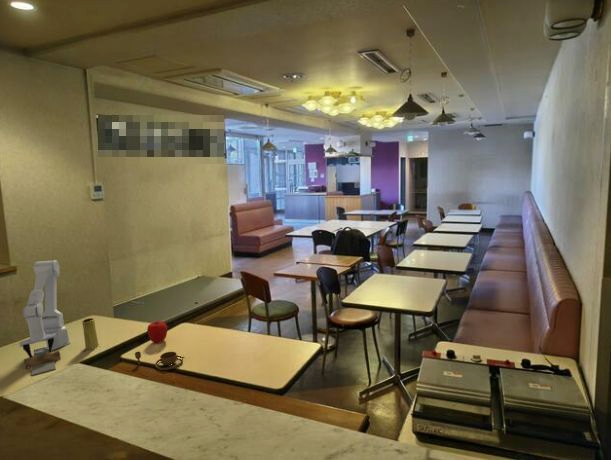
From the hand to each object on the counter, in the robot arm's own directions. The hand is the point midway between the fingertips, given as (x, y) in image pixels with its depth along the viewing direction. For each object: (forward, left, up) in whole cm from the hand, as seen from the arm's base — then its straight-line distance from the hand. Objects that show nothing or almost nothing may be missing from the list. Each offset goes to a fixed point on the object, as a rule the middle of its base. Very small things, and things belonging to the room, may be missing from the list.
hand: (40, 356), depth 198 cm
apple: (-39, +36, -2) cm, 53 cm away
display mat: (+4, +10, -2) cm, 11 cm away
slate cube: (0, 0, -2) cm, 2 cm away
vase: (-20, +9, -2) cm, 22 cm away
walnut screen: (+1, +4, -2) cm, 5 cm away
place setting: (-25, +56, -3) cm, 62 cm away
